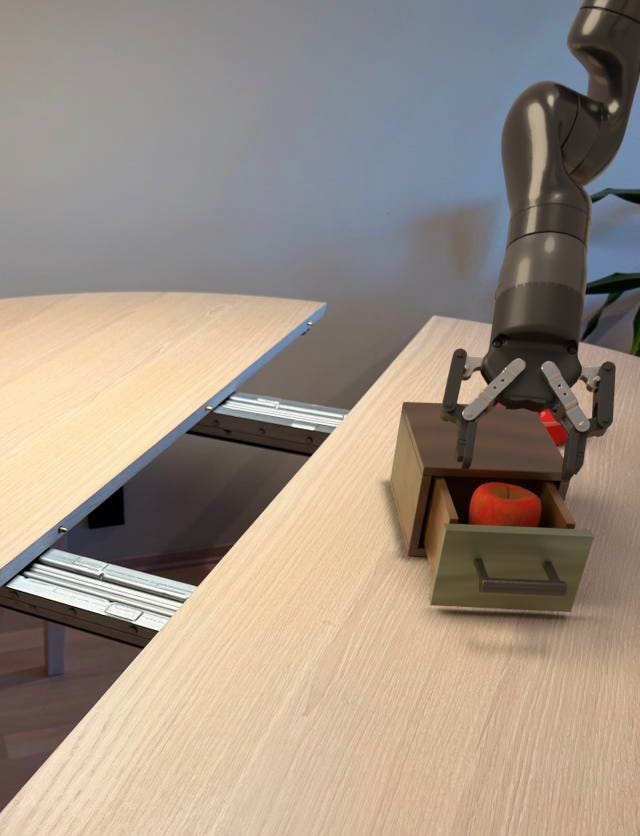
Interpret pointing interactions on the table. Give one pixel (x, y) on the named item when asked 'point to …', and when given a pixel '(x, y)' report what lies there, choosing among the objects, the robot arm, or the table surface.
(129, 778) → the table surface
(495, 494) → the apple
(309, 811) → the table surface
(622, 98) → the robot arm
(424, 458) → the cabinet
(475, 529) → the drawer
